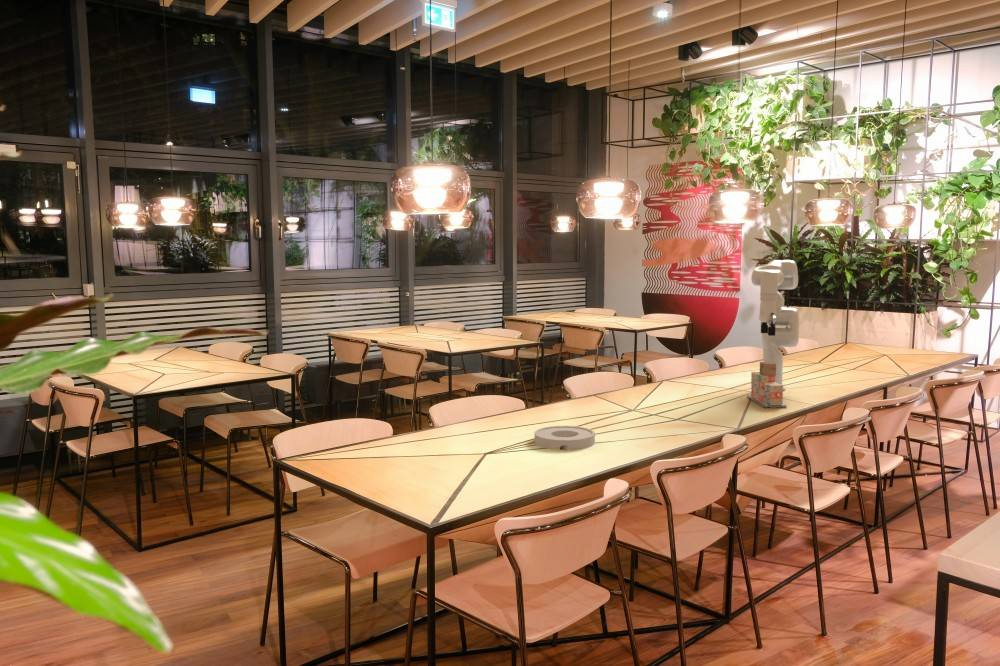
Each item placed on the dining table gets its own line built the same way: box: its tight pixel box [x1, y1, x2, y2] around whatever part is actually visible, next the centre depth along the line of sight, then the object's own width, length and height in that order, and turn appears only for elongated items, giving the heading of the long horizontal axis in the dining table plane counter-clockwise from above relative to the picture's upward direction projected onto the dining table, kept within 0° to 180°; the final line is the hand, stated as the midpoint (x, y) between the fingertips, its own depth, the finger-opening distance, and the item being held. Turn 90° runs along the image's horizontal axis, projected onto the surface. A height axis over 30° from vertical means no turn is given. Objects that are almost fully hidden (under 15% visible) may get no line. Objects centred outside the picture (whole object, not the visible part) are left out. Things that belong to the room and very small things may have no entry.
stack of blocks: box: [750, 371, 784, 405], centre depth 361 cm, size 21×6×12 cm, turn 4°
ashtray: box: [533, 425, 596, 451], centre depth 296 cm, size 23×23×4 cm
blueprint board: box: [746, 395, 788, 408], centre depth 363 cm, size 25×10×1 cm, turn 0°
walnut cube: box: [759, 361, 776, 376], centre depth 361 cm, size 6×6×6 cm
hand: (767, 334), depth 360 cm, fingers open, 9 cm apart
